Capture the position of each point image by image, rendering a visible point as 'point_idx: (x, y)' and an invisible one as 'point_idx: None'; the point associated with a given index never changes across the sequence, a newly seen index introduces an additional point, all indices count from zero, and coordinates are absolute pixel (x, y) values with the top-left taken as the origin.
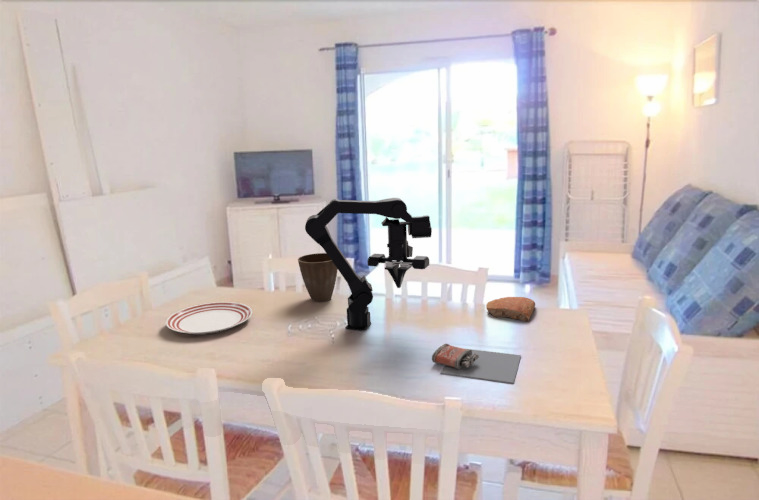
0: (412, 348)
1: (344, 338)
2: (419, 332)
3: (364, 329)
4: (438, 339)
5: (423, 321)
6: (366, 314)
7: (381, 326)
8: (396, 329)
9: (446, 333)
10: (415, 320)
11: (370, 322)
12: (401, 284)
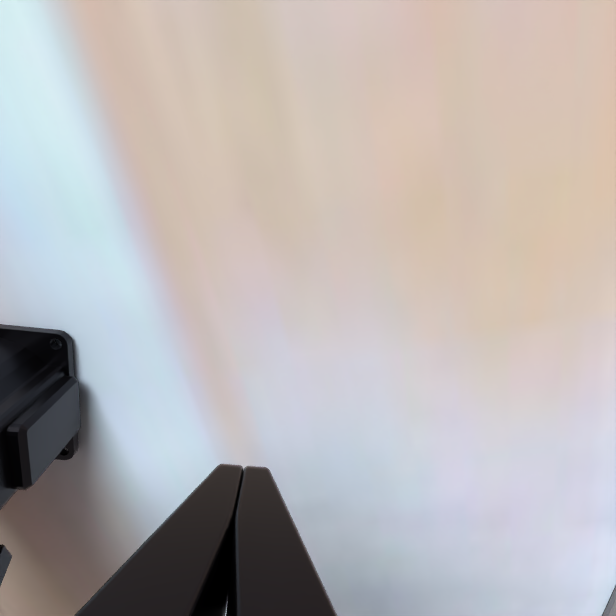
0: (415, 596)
1: (21, 553)
2: (431, 414)
3: (76, 448)
4: (547, 486)
5: (442, 221)
6: (23, 488)
7: (161, 361)
8: (277, 393)
9: (599, 403)
10: (378, 209)
11: (73, 387)
12: (282, 501)
